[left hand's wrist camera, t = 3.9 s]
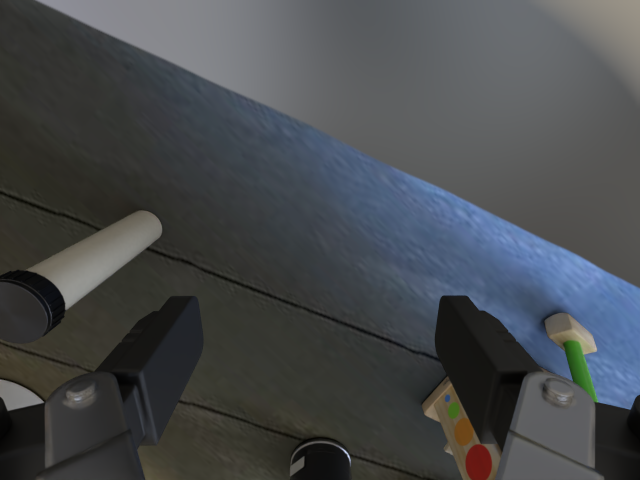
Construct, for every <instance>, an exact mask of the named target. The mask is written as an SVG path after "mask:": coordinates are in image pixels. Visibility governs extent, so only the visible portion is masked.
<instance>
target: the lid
mask: <svg viewBox="0 0 640 480" xmlns="http://www.w3.org/2000/svg"><path fill="white" fill-rule="evenodd" d="M65 311H66V310H65V301H64V298H63V295H62V294H61V292H60V291H59V289H58V288H57V287H56V286H55V285H54V284H53V283H52V282H51V281H50V280H48V279H47V278H45V277H44V276H42V275H40V274H37V273H34V272H30V271H28V270H26V271H21V270H20V271H19V270H16V271H13V272H11V271H9V272H7V273H5V274H3V275H1V276H0V339H3V340H5V341H8V342H12V343H29V342H33V341H35V340H37V339H39V338H40V337H43V336H45V335H46V334H47V333H48V332H49V331H51V330H52V329H53V328H54V327H56V326H57V325H58V324H59V323H61V320H62V319H63V318H64V314H65Z"/></svg>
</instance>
